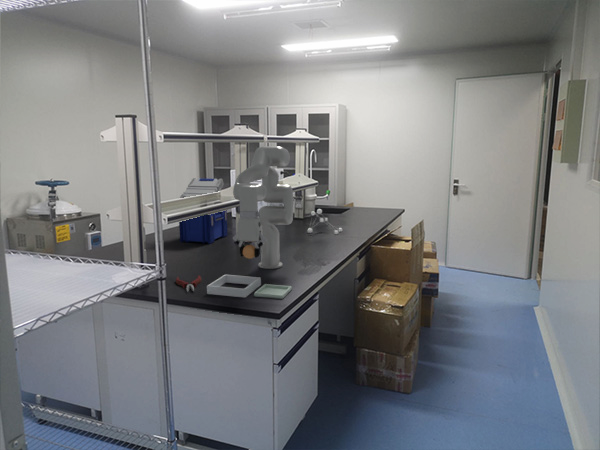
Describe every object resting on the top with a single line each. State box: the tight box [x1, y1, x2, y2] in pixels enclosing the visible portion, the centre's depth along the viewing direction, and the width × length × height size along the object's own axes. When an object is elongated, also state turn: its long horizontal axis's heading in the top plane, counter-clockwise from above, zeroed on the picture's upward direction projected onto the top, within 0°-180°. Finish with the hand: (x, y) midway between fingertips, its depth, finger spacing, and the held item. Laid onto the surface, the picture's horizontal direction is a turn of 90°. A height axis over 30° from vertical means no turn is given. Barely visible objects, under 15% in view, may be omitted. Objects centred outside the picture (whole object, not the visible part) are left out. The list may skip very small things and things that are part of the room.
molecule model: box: [306, 208, 343, 235], centre depth 321 cm, size 14×25×18 cm, turn 86°
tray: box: [253, 283, 293, 300], centre depth 193 cm, size 13×13×2 cm
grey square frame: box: [206, 274, 262, 298], centre depth 198 cm, size 18×18×4 cm
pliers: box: [175, 275, 202, 293], centre depth 203 cm, size 12×20×3 cm, turn 17°
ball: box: [243, 244, 256, 260], centre depth 193 cm, size 6×6×6 cm
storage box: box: [178, 177, 228, 245], centre depth 298 cm, size 29×23×40 cm
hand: (249, 255), depth 193 cm, fingers closed on ball, 5 cm apart
